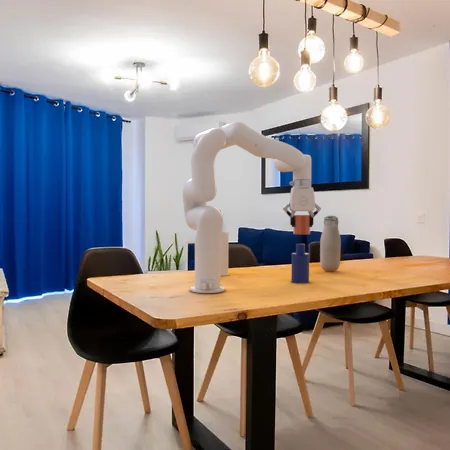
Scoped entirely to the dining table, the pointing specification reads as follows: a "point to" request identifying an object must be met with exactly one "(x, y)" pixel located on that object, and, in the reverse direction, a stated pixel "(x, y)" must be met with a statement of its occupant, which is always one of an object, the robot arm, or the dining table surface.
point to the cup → (302, 224)
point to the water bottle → (300, 265)
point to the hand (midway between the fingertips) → (301, 226)
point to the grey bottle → (330, 244)
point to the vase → (224, 254)
